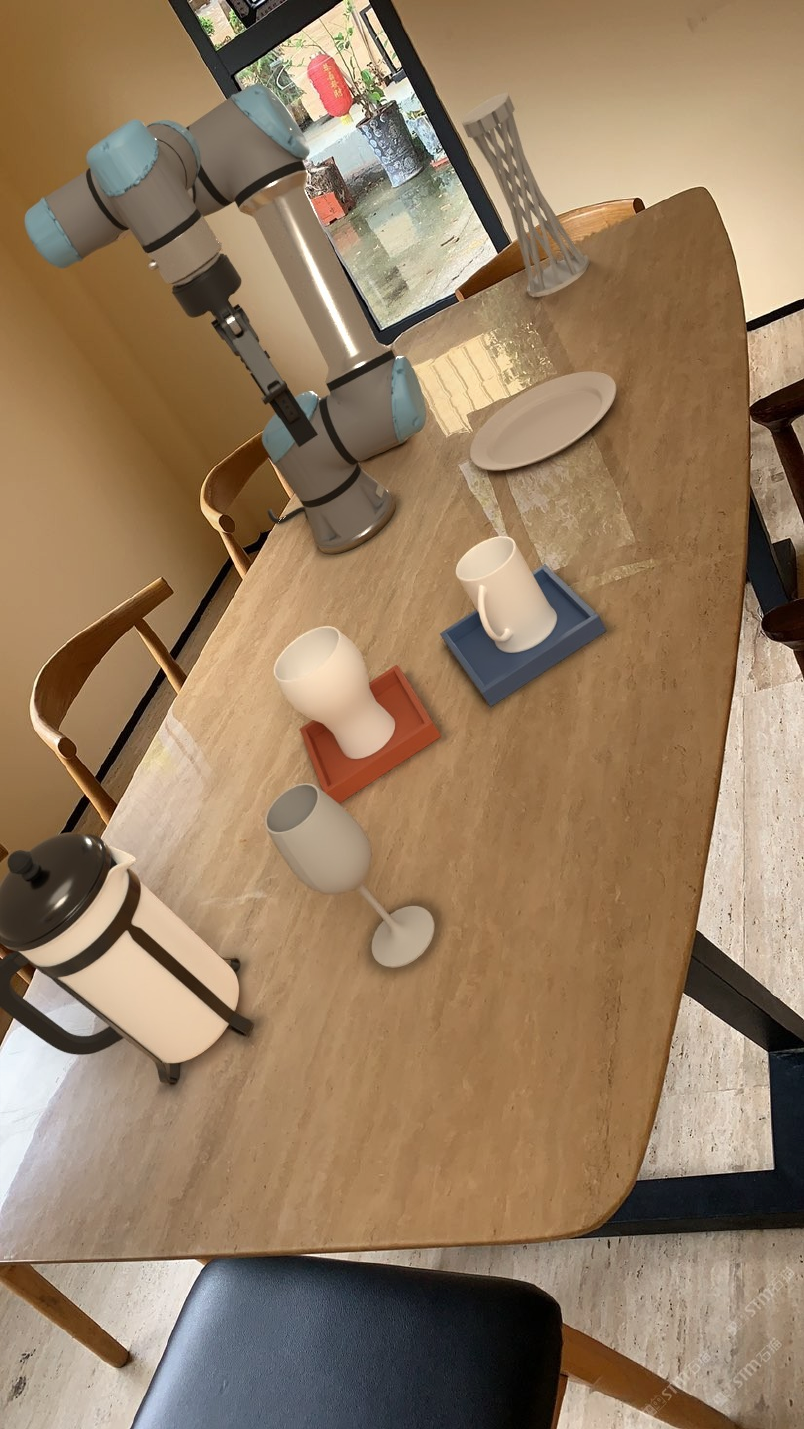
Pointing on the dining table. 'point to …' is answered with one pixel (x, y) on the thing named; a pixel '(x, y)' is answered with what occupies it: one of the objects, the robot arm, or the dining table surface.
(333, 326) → the robot arm
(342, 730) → the cup
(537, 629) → the mug
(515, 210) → the grey lattice tower
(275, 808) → the wineglass
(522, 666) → the mug tray
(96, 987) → the coffee press
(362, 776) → the cup tray
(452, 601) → the dining table surface
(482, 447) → the plate
